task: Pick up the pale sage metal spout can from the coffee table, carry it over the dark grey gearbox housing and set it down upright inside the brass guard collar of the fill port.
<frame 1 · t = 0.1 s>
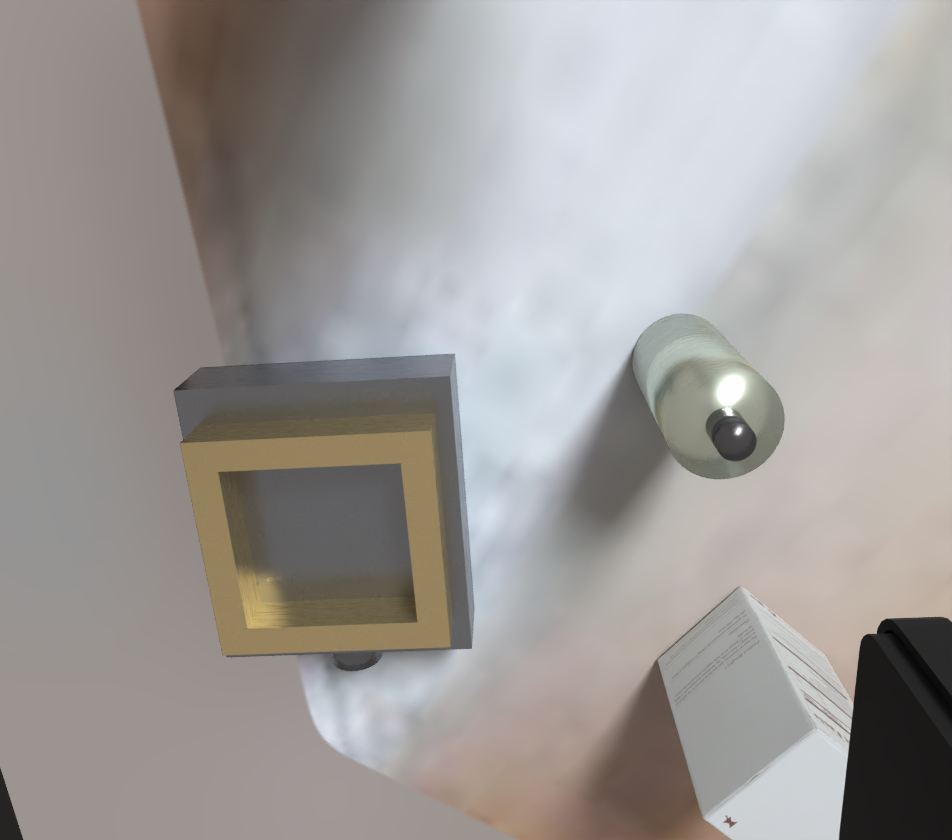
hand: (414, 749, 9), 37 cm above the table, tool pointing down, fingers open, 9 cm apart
supplement box: (738, 652, 52), on the table
spout can: (679, 359, 45), on the table
gearbox: (344, 494, 49), on the table
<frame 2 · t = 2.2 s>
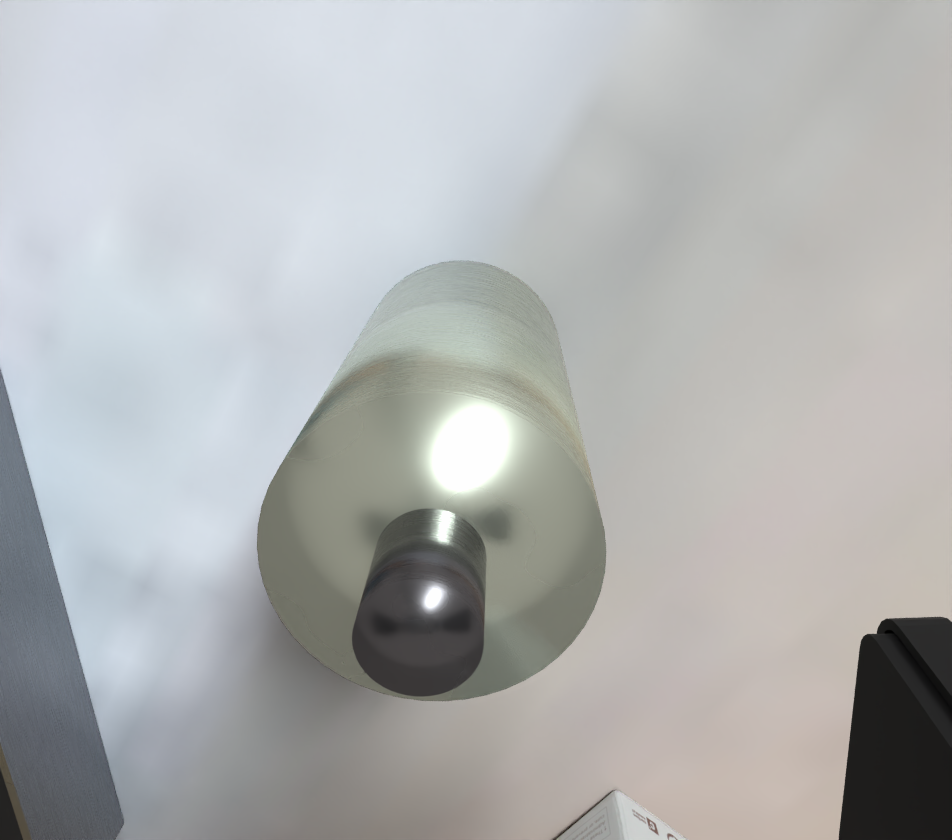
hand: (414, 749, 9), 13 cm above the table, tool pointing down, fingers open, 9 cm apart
spout can: (462, 359, 21), on the table
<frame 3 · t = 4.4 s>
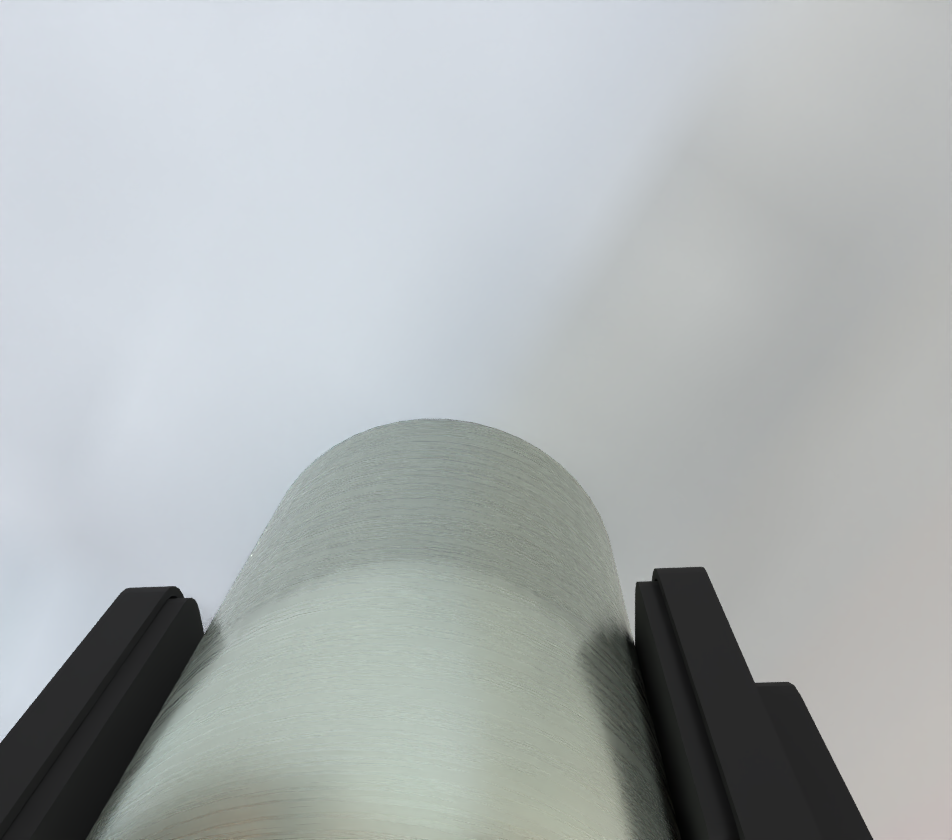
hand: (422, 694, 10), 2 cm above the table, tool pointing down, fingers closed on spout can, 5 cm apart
spout can: (438, 583, 12), on the table, touching gripper
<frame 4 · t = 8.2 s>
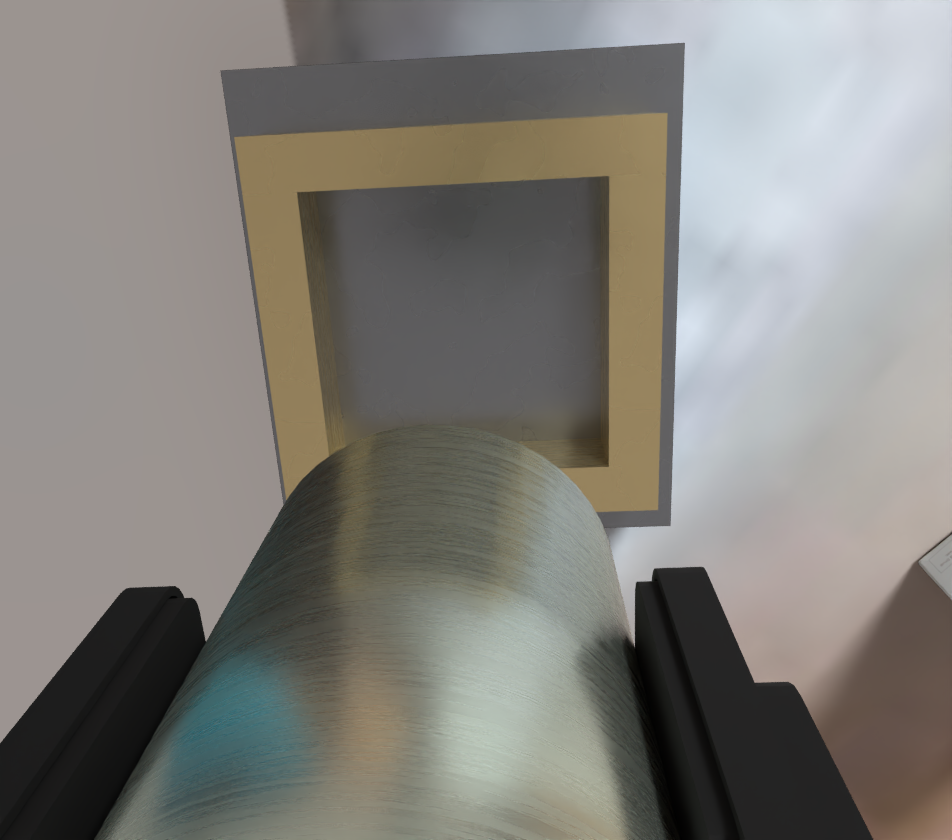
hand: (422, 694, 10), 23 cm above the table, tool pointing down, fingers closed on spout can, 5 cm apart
spout can: (439, 588, 12), point 21 cm above the table, touching gripper
gearbox: (469, 293, 32), on the table
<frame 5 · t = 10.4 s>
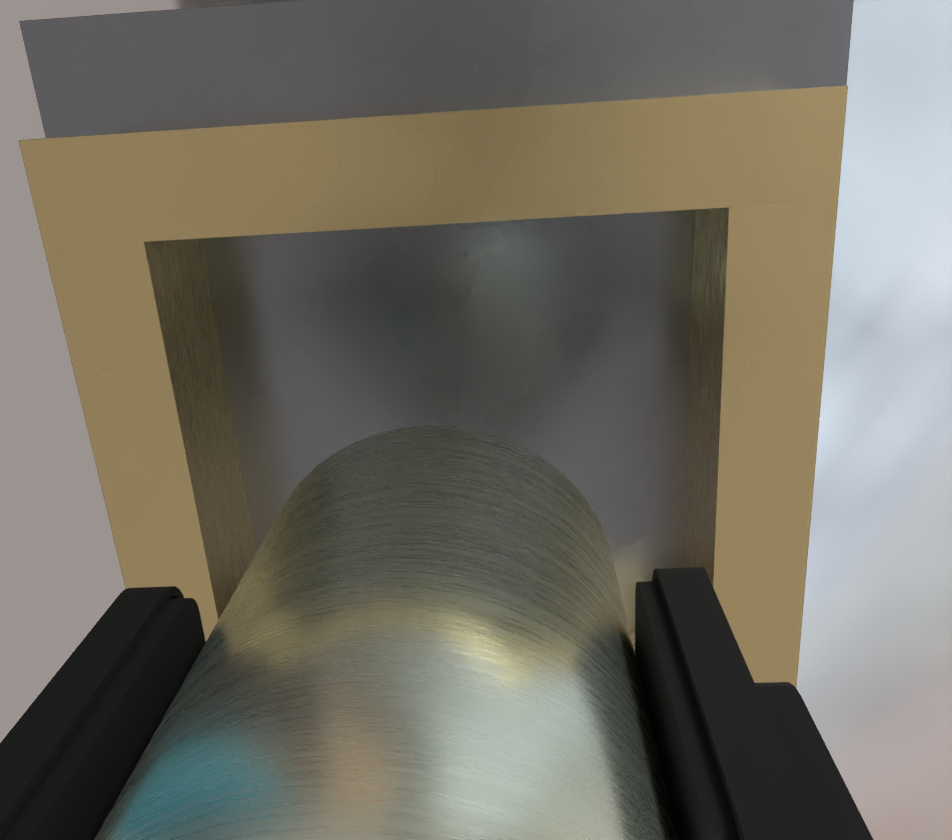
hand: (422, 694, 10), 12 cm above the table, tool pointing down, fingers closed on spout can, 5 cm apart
spout can: (438, 589, 12), point 9 cm above the table, touching gripper
gearbox: (468, 376, 21), on the table
when the fingers open (8 cm above the table, at t = 12.0 s): spout can drops 1 cm, resting on gearbox.
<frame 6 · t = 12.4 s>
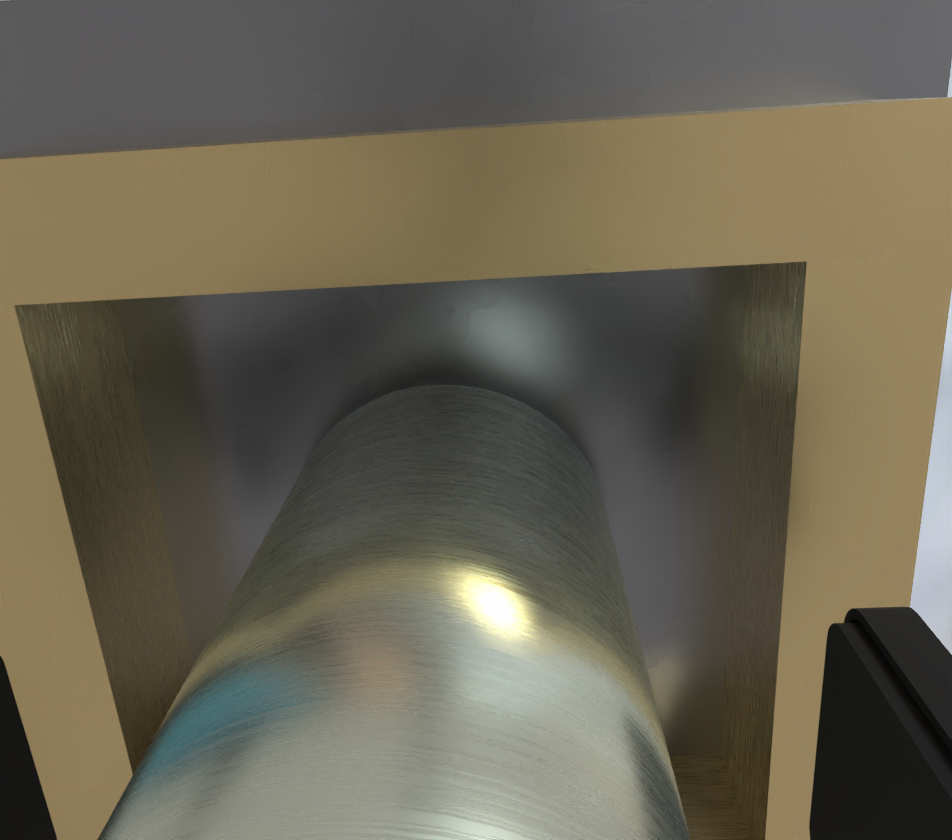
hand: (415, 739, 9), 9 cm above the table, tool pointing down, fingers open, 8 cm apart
spout can: (448, 534, 13), point 4 cm above the table, touching gearbox
gearbox: (458, 442, 17), on the table
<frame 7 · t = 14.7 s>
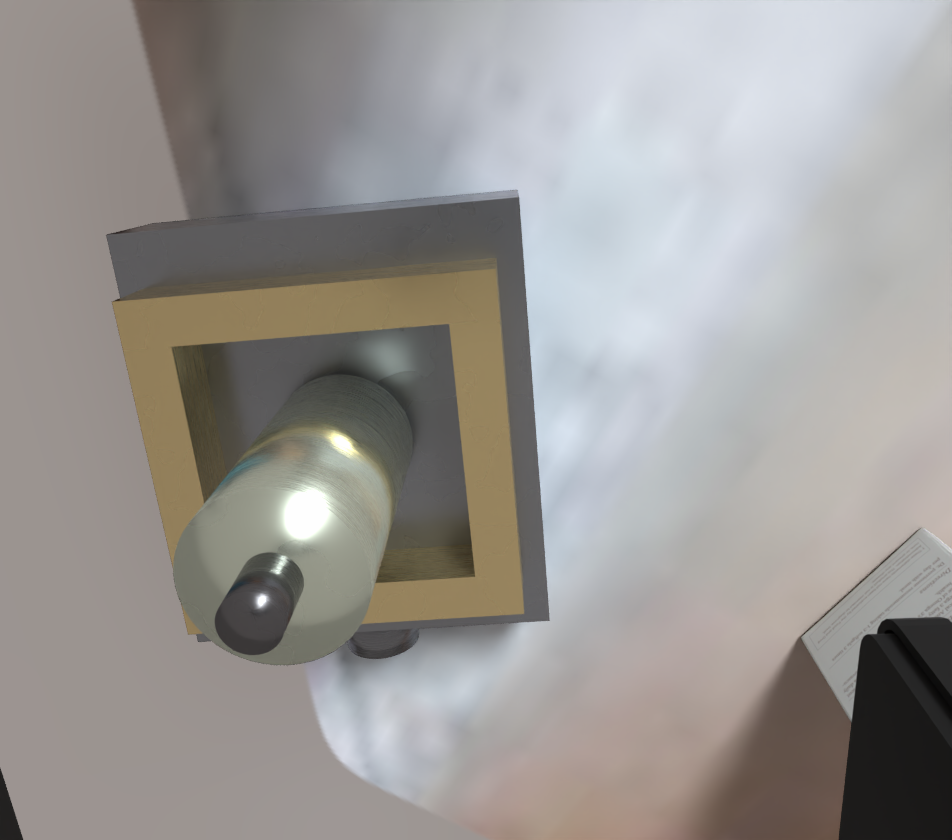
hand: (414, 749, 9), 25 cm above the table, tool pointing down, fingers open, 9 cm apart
supplement box: (914, 624, 37), on the table
spout can: (344, 440, 31), point 4 cm above the table, touching gearbox
gearbox: (360, 407, 34), on the table
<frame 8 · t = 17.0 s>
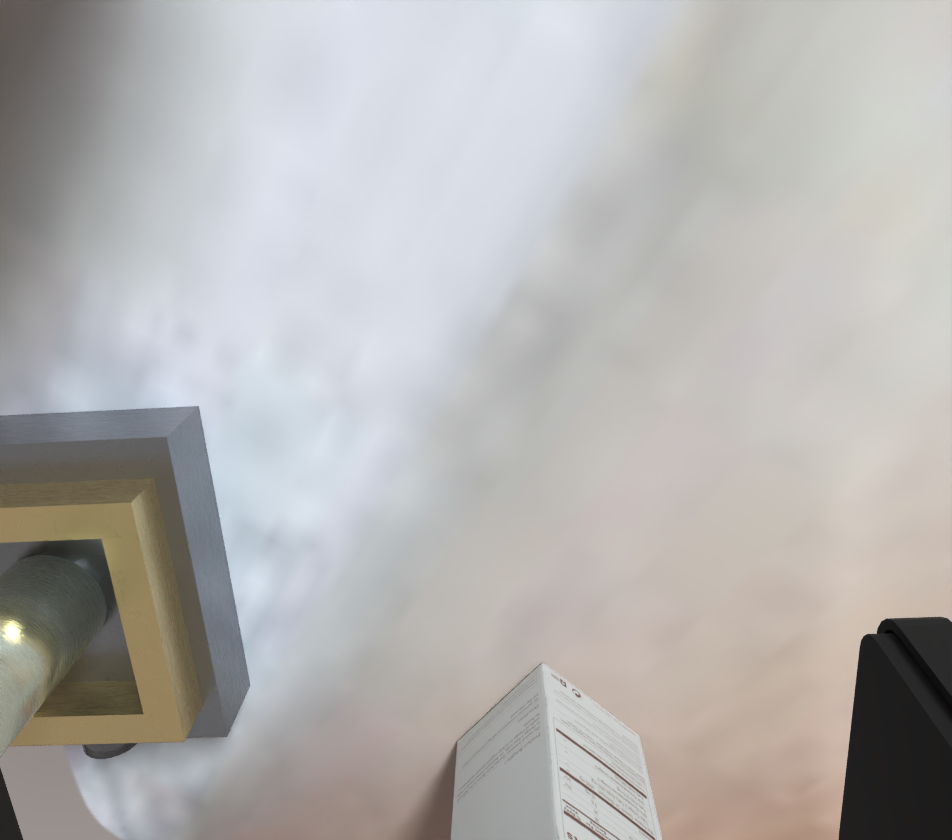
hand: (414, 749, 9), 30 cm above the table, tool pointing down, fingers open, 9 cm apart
supplement box: (548, 734, 46), on the table
spout can: (53, 602, 39), point 4 cm above the table, touching gearbox
gearbox: (92, 559, 43), on the table
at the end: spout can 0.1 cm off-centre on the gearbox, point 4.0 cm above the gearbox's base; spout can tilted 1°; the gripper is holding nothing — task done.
